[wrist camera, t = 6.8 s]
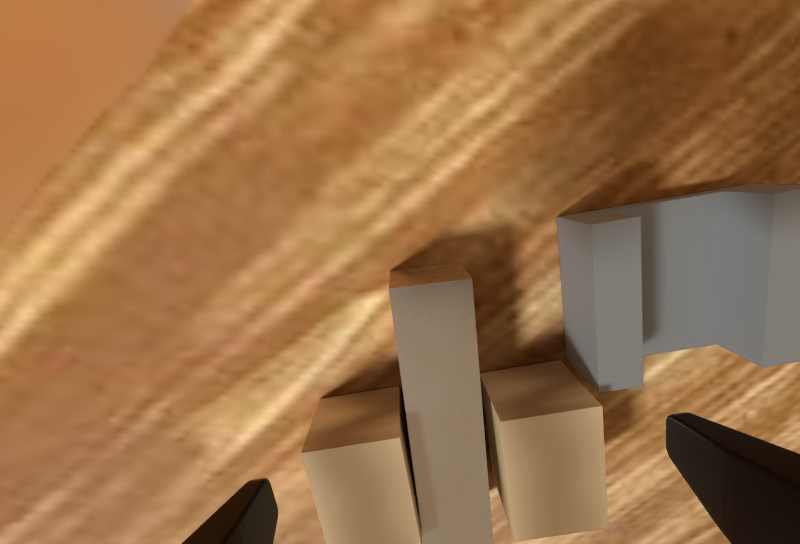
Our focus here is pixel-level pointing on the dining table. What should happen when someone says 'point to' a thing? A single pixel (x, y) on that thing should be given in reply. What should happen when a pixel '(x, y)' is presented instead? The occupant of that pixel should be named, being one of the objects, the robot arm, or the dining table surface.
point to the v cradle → (681, 280)
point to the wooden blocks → (509, 450)
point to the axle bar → (443, 401)
